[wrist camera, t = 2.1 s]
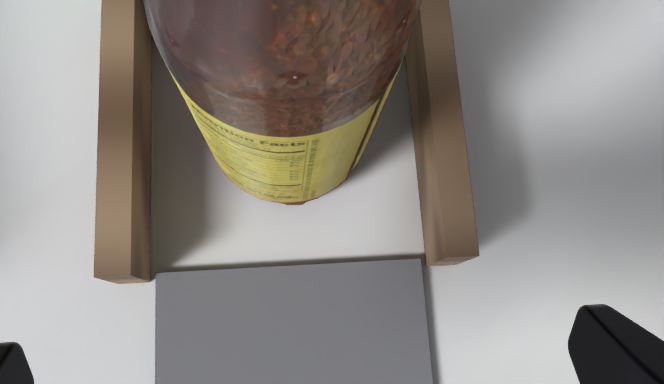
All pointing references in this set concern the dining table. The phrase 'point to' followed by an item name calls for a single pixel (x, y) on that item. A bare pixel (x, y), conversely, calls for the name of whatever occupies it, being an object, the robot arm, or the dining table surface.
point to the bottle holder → (135, 142)
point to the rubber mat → (294, 325)
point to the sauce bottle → (284, 83)
